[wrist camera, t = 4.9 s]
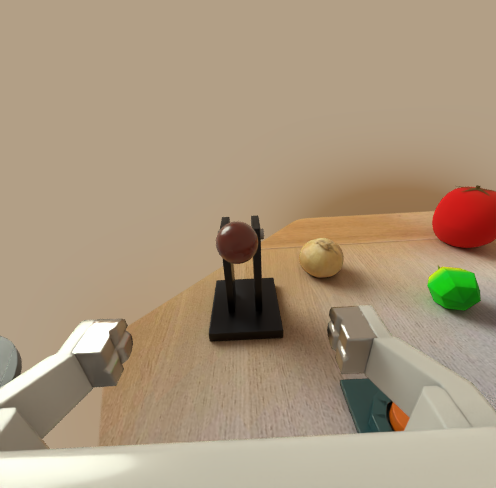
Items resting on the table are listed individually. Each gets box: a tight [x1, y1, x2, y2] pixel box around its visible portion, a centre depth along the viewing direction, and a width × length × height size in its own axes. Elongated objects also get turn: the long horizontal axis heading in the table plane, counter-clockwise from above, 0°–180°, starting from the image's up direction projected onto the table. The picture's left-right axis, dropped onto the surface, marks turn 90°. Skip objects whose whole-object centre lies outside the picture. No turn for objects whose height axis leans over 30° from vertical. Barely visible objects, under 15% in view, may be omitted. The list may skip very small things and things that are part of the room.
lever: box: [216, 222, 258, 264], centre depth 27 cm, size 15×4×4 cm, turn 1°
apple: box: [427, 266, 481, 311], centre depth 38 cm, size 7×6×9 cm
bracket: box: [209, 216, 283, 341], centre depth 36 cm, size 12×10×15 cm
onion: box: [299, 238, 343, 278], centre depth 46 cm, size 8×8×7 cm
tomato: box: [432, 186, 496, 248], centre depth 51 cm, size 12×12×13 cm
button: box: [389, 402, 410, 431], centre depth 22 cm, size 4×4×2 cm
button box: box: [340, 378, 394, 433], centre depth 23 cm, size 11×9×2 cm
